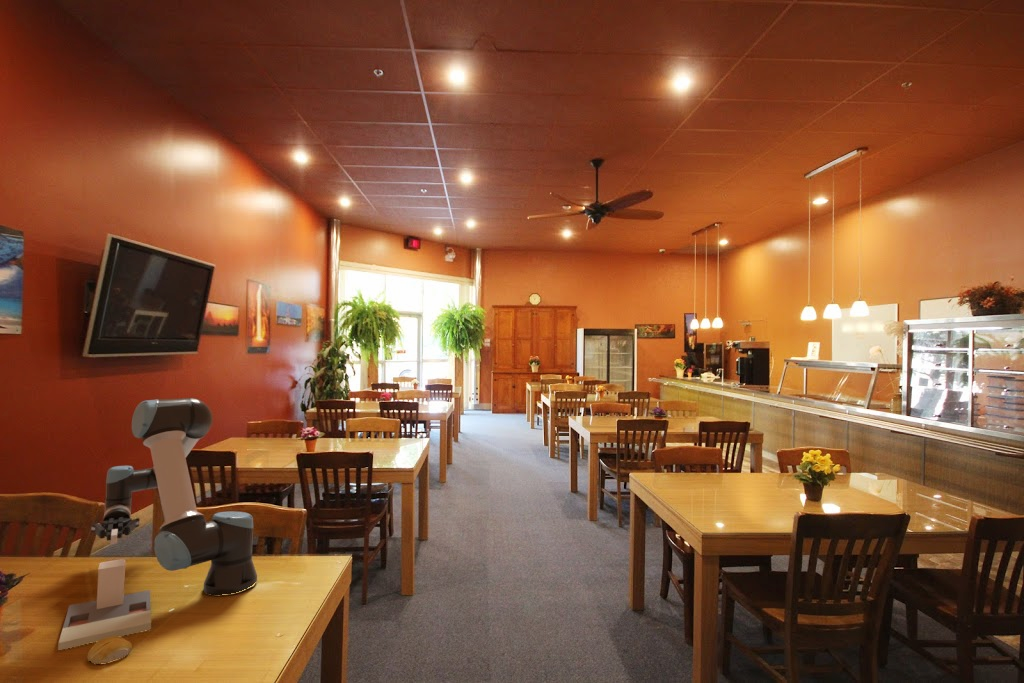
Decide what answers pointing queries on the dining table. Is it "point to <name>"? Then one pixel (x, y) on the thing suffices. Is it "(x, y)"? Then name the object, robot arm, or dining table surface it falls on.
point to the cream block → (111, 583)
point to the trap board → (107, 609)
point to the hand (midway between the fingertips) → (113, 539)
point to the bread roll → (109, 650)
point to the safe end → (104, 629)
